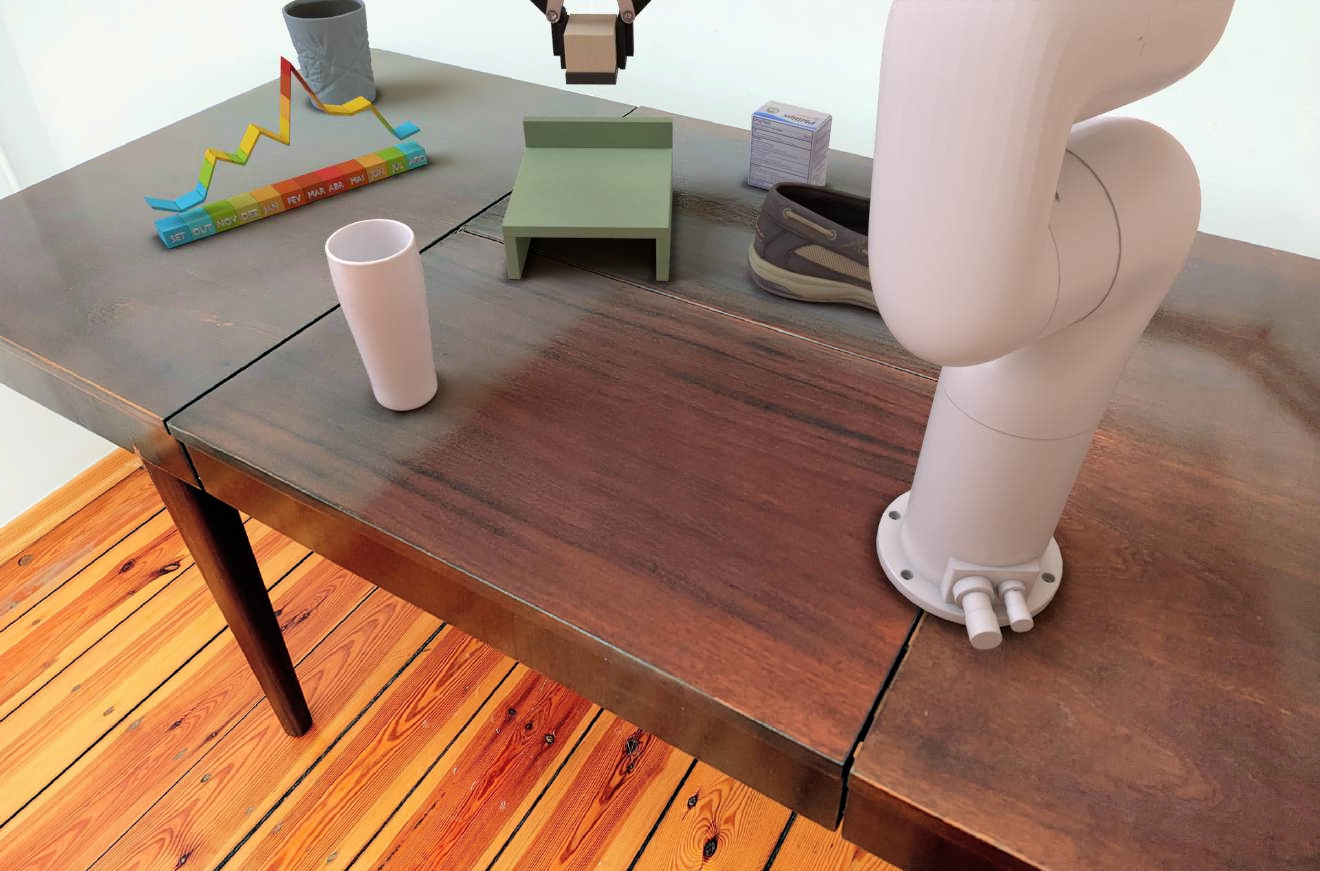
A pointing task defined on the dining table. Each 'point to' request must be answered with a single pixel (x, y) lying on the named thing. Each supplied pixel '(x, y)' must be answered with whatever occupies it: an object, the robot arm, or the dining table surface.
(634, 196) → the shelf
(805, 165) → the medicine box
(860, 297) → the boat shoe
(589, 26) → the tan two-tone block
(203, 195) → the chart
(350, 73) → the gray embossed pot
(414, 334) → the drinking glass
